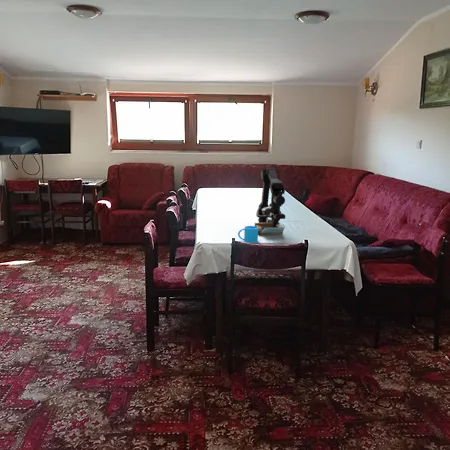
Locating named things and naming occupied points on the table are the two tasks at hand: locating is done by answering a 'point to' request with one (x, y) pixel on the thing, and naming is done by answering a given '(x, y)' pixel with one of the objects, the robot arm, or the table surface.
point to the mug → (250, 234)
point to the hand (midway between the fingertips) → (274, 227)
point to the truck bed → (266, 225)
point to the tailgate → (273, 230)
